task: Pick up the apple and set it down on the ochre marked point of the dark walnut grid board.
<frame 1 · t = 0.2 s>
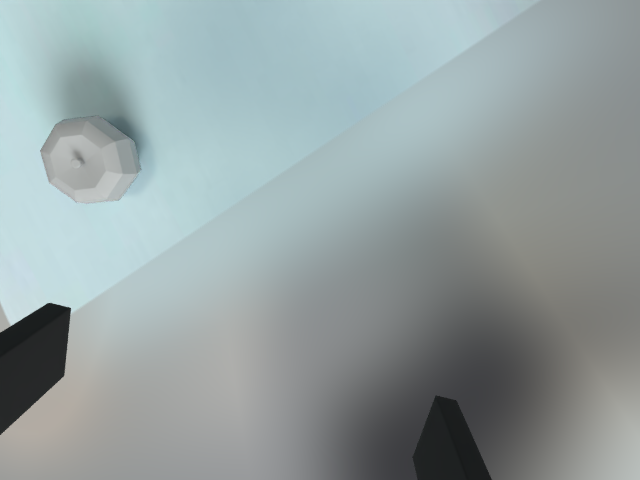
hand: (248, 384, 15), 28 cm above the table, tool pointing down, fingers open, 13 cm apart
apple: (116, 157, 41), on the table
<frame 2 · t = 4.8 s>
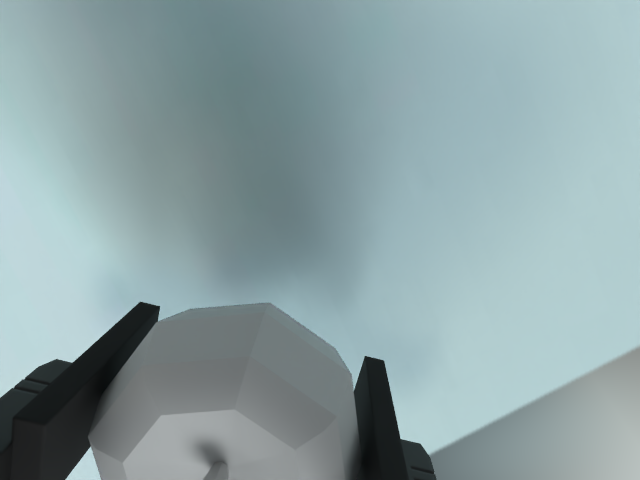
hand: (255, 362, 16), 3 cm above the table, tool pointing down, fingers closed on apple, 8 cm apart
apple: (258, 353, 17), point 3 cm above the table, touching gripper
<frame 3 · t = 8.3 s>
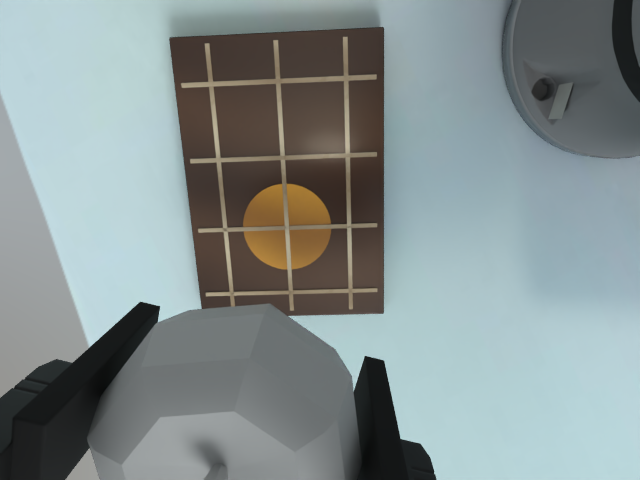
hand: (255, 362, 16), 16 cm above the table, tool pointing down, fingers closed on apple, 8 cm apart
apple: (258, 354, 17), point 16 cm above the table, touching gripper
board: (286, 184, 31), on the table
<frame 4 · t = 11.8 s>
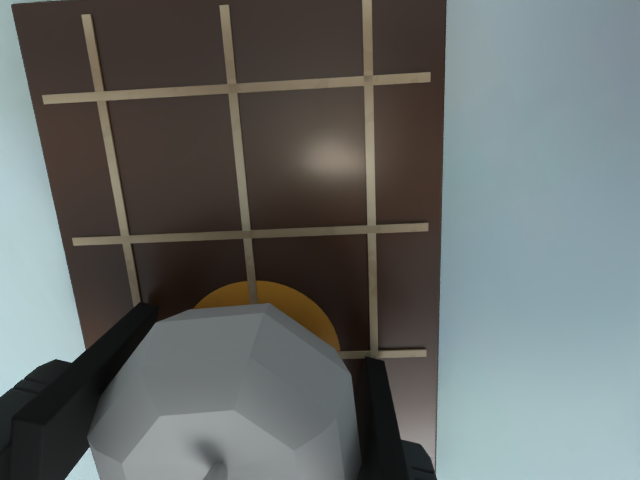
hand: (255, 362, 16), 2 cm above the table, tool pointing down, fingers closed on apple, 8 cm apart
apple: (258, 353, 17), point 1 cm above the table, touching board, gripper
board: (258, 274, 17), on the table
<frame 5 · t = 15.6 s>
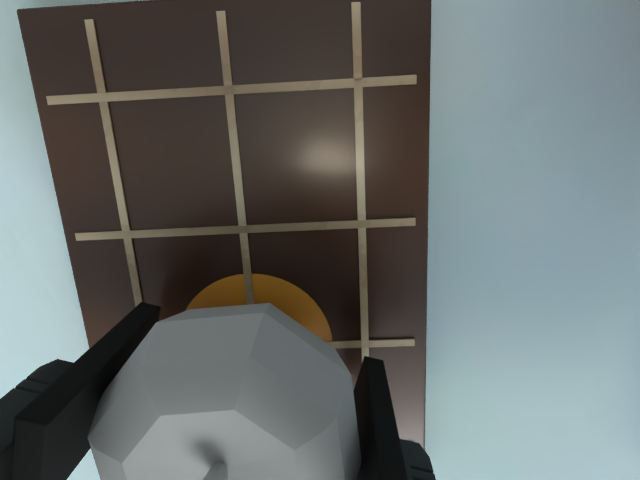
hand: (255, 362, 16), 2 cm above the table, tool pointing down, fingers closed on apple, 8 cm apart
apple: (258, 353, 17), point 2 cm above the table, touching gripper
board: (253, 268, 18), on the table
when the fingers open (3 cm above the table, at t = 19.2 s): apple drops 1 cm, resting on board.
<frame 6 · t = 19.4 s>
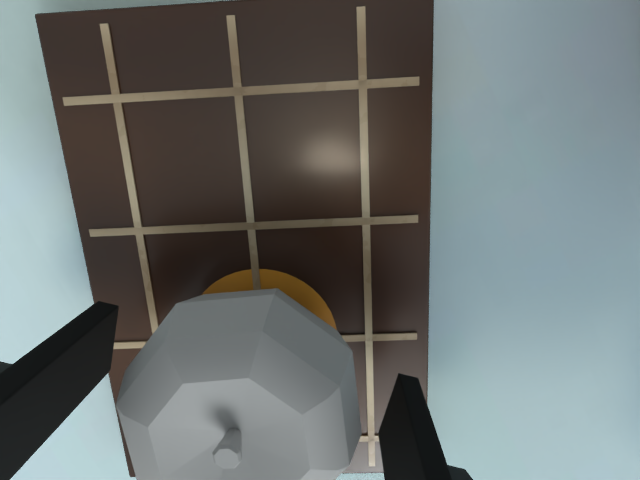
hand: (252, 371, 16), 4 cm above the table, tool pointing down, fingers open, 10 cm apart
apple: (265, 338, 18), point 1 cm above the table, touching board
board: (260, 264, 18), on the table
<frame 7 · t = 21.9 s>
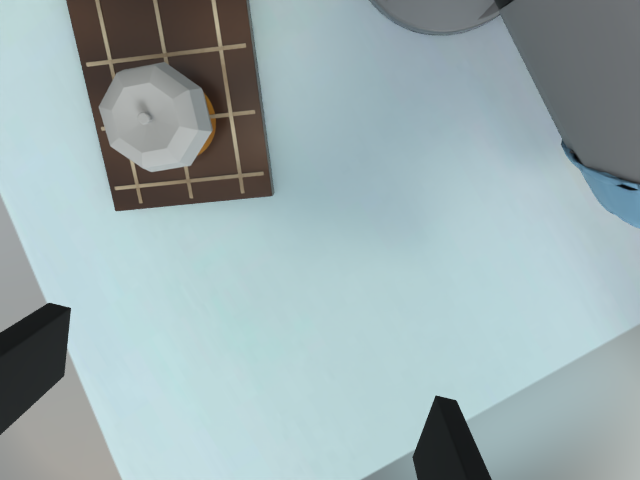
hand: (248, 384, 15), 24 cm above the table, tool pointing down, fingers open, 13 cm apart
apple: (179, 119, 35), point 1 cm above the table, touching board
board: (175, 83, 35), on the table
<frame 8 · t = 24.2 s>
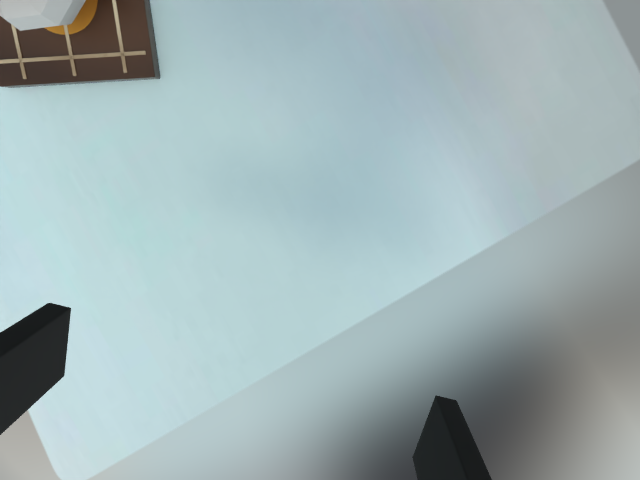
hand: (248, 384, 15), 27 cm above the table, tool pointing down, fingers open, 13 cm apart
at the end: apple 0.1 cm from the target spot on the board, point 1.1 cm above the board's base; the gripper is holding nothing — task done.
